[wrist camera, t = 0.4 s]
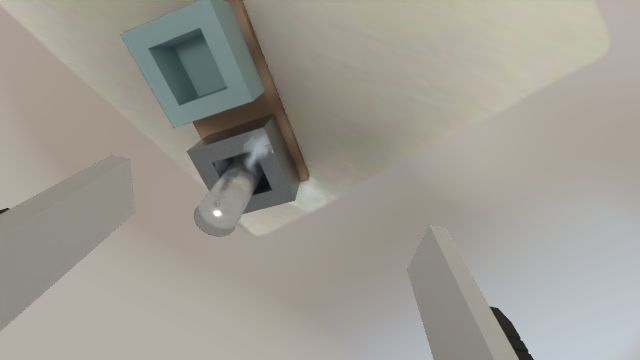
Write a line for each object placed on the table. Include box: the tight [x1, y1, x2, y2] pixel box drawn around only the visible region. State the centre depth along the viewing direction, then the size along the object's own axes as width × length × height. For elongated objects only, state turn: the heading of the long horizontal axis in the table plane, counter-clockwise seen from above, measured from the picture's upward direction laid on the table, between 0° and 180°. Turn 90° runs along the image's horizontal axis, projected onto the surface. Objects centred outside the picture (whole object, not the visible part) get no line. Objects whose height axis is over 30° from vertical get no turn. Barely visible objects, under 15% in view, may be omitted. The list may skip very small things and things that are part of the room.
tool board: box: [193, 0, 309, 182], centre depth 38 cm, size 24×12×2 cm, turn 18°
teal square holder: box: [120, 0, 265, 128], centre depth 32 cm, size 10×10×6 cm
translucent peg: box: [194, 150, 264, 237], centre depth 33 cm, size 4×4×14 cm
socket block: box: [187, 114, 300, 214], centre depth 38 cm, size 10×10×6 cm
